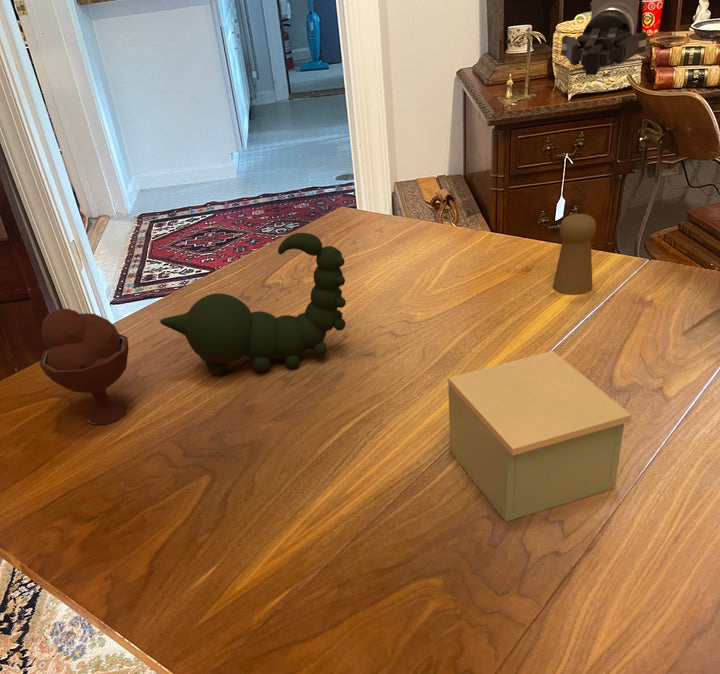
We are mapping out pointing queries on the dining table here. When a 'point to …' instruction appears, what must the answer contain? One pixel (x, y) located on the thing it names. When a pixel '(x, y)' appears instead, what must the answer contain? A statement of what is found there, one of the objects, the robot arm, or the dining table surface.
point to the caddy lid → (537, 402)
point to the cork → (575, 255)
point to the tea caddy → (532, 465)
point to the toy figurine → (267, 318)
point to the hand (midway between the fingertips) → (591, 64)
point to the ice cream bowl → (85, 358)
